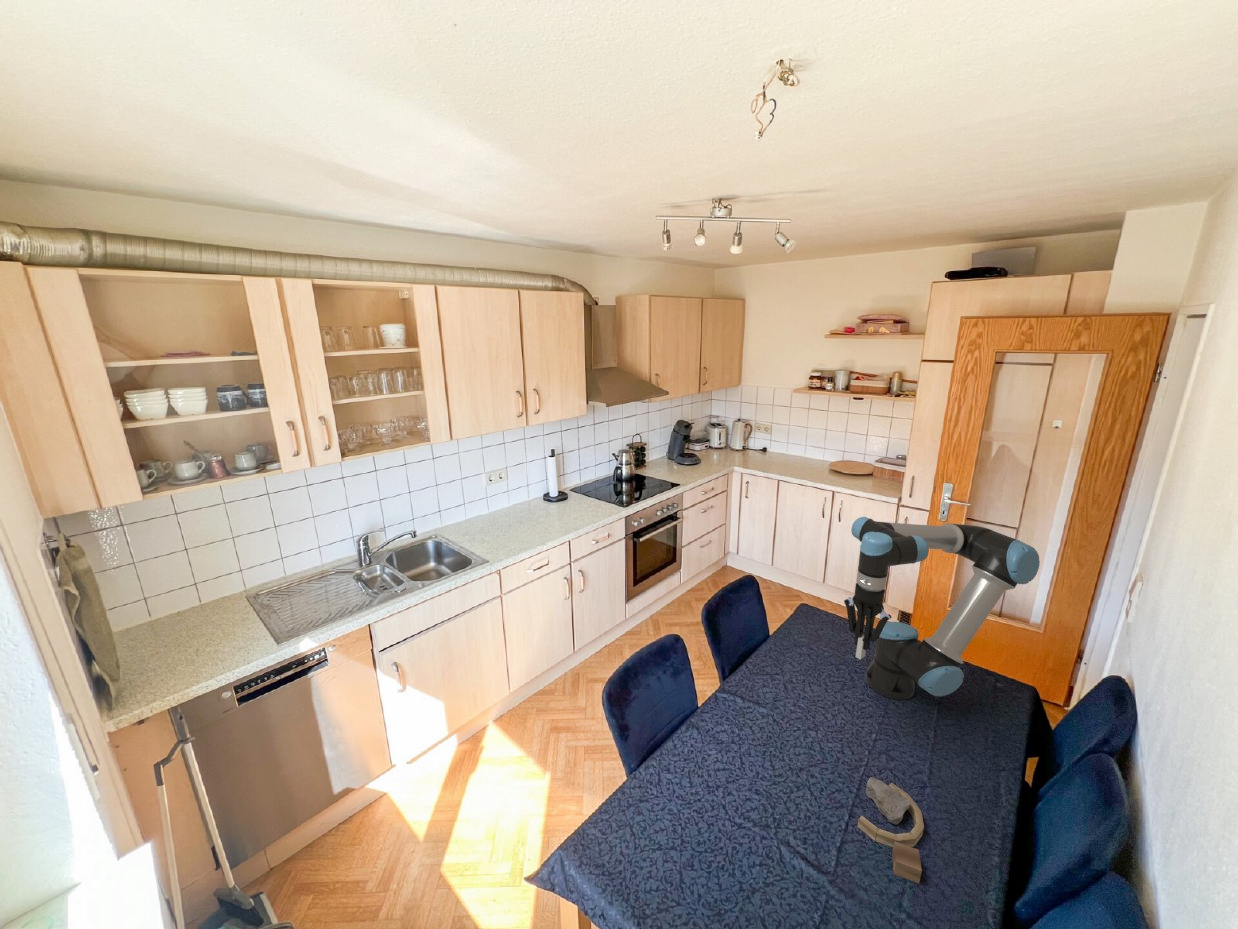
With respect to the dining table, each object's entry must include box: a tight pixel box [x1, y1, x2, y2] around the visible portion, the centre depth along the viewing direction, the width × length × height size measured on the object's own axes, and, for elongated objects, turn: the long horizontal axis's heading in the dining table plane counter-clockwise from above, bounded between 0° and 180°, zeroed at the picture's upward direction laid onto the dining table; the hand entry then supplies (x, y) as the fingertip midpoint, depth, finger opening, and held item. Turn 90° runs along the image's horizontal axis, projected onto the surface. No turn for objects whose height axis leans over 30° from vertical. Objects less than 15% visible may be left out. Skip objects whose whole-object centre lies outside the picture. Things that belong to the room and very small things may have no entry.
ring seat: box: [856, 782, 925, 848], centre depth 122 cm, size 17×11×2 cm, turn 127°
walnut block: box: [891, 841, 923, 884], centre depth 112 cm, size 5×5×4 cm
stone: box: [865, 776, 911, 825], centre depth 126 cm, size 8×10×6 cm
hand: (860, 656), depth 145 cm, fingers closed
